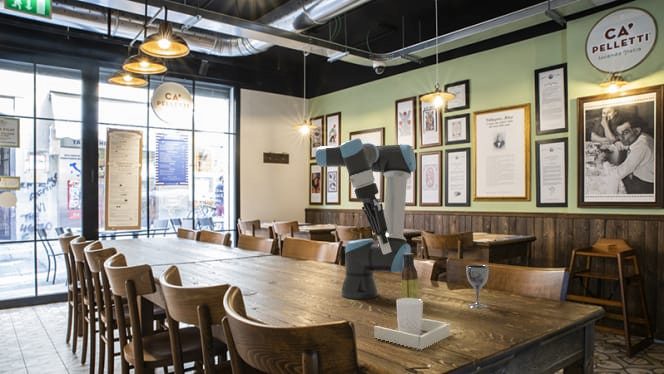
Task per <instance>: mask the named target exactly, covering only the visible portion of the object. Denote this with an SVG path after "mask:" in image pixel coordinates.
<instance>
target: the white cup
mask: <svg viewBox="0 0 664 374" xmlns="http://www.w3.org/2000/svg"><path fill="white" fill-rule="evenodd" d="M423 309H424V301H423V300H422V299H420V298H419V299H416V298H402V297H401V298H397V299H396V318H397V320H396V321H397V331H401V332H406V333H410V334H415V335H419V336H421V335H422V330H421V326H422V318H423V313H424V312H423V311H424V310H423Z"/></svg>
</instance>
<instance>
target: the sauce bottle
mask: <svg viewBox="0 0 664 374" xmlns="http://www.w3.org/2000/svg"><path fill="white" fill-rule="evenodd" d="M403 258H404V267H403V269H402V271H401V273H400V276H401V278H400V279H401V282H400V283H401V298H416V299H420V296H419V293H420V292H419V276H418V271H417V269H416V266H415V254H414V253H412V252H411V253H404V254H403Z"/></svg>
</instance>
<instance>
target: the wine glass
mask: <svg viewBox="0 0 664 374" xmlns="http://www.w3.org/2000/svg"><path fill="white" fill-rule="evenodd" d="M466 277H467V278H466V279H467V281H468V282H469V284H470V285H471V286H472V287H473V289H474V290H475V296H476V302H475V303H469V304H467V306H468V307H469V308H472V309H487V308H488V305H486V304H482V303H480V301H479V300H480V299H479V297H480V292H481V289H482V287H483V286H485V284H486V283H487V281H488V277H489V266H488V265H483V264H466Z"/></svg>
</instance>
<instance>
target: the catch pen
mask: <svg viewBox="0 0 664 374" xmlns="http://www.w3.org/2000/svg"><path fill="white" fill-rule="evenodd" d="M373 329H374V331H373V332H374V335H373V336H374V337H373V339H374V338H377V339H376V340H378V339H381V340H380V341H382V340H385V341H384V342H386V341H389V342H388V343H390V342H393V343H392V344H394V343H397V344H396V345H398V344H400V345H399V346H402V345H404V346H403V347H406V346H408V347H407V348H410V347H413V348H412V349H414V348H417V349H416V350H418V349H421V350H420V351H423V350H422V349H424V348H426V347H427V348H429V347H431V346H433V345H435V344H437V343H439V342H441V341H442V339H443V340H445V339H446V338H448V337H450V336H451V323H449V322H445V321H444V322H443V321H439V320H434V319H429V318H423V317H422V326H421V332H422V331H423V332H426V333H424V334H421V336H419V335H415V334H410V333H406V332H401V331H398V329H393V328H388V327H383V326H378V325H375V326H374V327H373ZM440 340H441V341H440ZM438 341H439V342H438ZM436 342H437V343H436ZM434 343H435V344H434ZM432 344H433V345H432ZM430 345H431V346H430ZM428 346H429V347H428ZM427 348H426V349H427ZM424 350H425V349H424Z"/></svg>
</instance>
